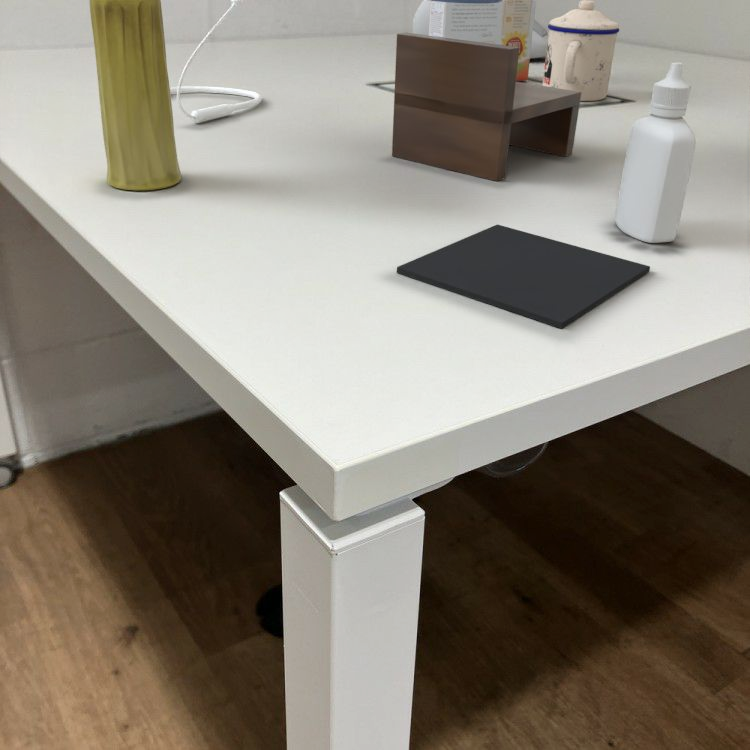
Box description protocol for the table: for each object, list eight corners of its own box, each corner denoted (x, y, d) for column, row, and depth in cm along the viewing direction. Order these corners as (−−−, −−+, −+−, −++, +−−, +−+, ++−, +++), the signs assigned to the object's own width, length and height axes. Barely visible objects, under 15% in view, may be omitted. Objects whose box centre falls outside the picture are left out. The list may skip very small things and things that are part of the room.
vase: (175, 169, 72) (159, -9, 65) (187, 188, 67) (172, -2, 60) (103, 173, 70) (79, -9, 63) (110, 194, 65) (85, -2, 58)
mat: (496, 229, 61) (497, 224, 61) (649, 271, 54) (650, 266, 54) (396, 272, 53) (396, 266, 53) (561, 329, 46) (562, 322, 46)
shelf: (472, 133, 88) (482, 23, 83) (572, 154, 82) (590, 36, 76) (391, 156, 79) (396, 33, 74) (496, 181, 72) (511, 48, 67)
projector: (454, 67, 129) (462, -37, 121) (387, 47, 146) (390, -45, 139) (566, 61, 138) (579, -36, 130) (489, 43, 155) (498, -43, 148)
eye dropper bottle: (671, 223, 63) (707, 59, 58) (675, 247, 59) (714, 71, 53) (614, 217, 64) (643, 55, 58) (613, 240, 60) (644, 67, 54)
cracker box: (508, 75, 123) (525, -84, 113) (528, 82, 118) (548, -84, 108) (423, 77, 119) (432, -88, 109) (440, 85, 114) (452, -88, 104)
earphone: (82, 84, 85) (133, -45, 91) (143, 178, 100) (183, 62, 106) (204, 94, 82) (248, -40, 89) (247, 189, 98) (282, 69, 104)
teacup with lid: (546, 86, 115) (558, -4, 110) (612, 93, 113) (627, 0, 107) (528, 101, 106) (540, 2, 100) (599, 108, 103) (615, 7, 97)
